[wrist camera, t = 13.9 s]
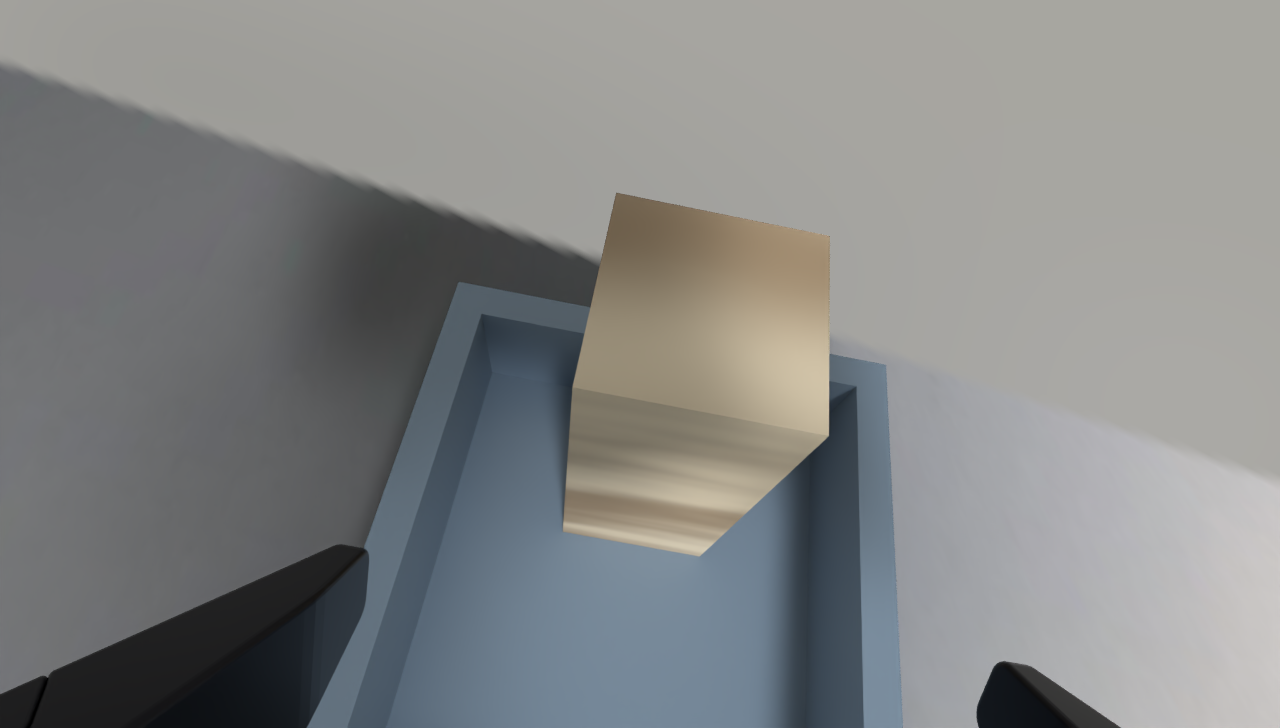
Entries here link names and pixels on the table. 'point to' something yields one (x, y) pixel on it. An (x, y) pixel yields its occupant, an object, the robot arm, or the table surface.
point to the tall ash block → (695, 374)
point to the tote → (611, 566)
